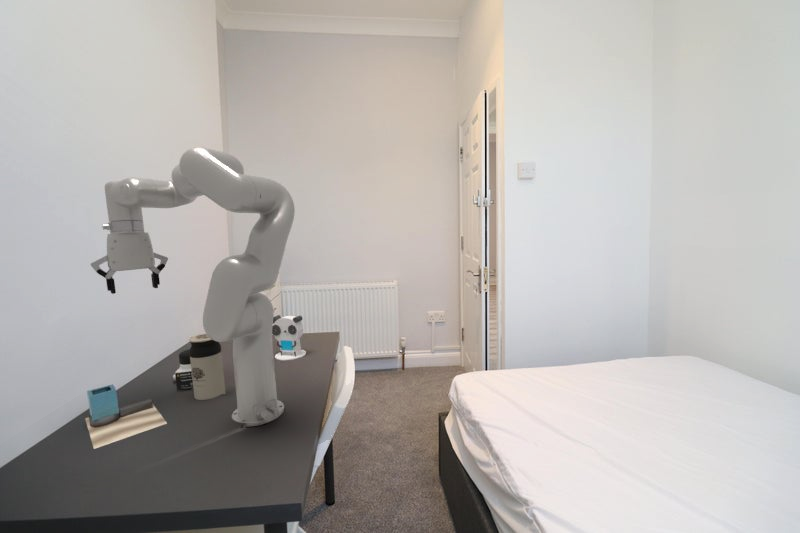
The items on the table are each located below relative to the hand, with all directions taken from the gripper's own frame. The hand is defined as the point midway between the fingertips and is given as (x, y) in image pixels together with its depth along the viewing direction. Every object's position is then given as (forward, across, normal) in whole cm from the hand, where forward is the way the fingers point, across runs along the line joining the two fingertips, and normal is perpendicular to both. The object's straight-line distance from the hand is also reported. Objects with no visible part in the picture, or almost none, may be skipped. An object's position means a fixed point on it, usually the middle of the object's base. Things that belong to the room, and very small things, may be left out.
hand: (135, 290), depth 103 cm
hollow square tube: (+29, -10, -7) cm, 32 cm away
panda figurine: (+32, +46, +4) cm, 56 cm away
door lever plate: (+32, -7, -11) cm, 35 cm away
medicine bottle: (+32, +12, 0) cm, 35 cm away
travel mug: (+32, +13, -11) cm, 37 cm away
